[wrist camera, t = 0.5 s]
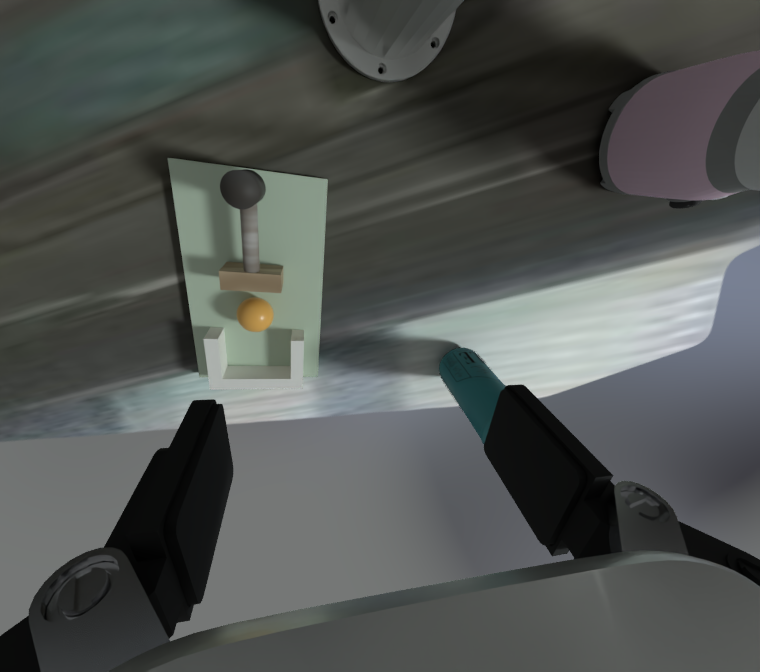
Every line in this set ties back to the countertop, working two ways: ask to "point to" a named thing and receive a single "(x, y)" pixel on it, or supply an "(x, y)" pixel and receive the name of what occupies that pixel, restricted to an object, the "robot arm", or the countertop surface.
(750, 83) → the blender
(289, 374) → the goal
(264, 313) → the ball
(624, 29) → the countertop surface
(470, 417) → the beverage bottle
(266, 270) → the rod
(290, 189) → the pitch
